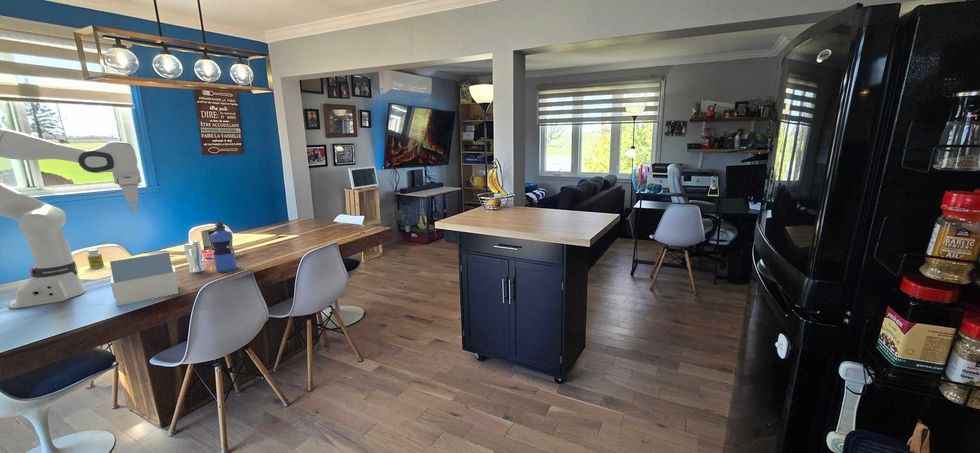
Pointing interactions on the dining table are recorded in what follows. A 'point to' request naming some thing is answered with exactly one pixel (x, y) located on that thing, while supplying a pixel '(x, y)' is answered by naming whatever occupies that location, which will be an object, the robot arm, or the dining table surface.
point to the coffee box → (207, 239)
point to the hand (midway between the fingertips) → (134, 210)
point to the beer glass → (194, 256)
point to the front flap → (141, 267)
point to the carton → (145, 288)
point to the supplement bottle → (95, 258)
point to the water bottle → (223, 249)
